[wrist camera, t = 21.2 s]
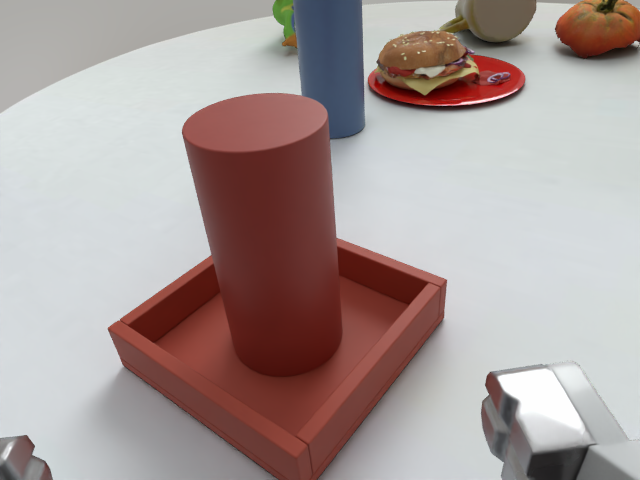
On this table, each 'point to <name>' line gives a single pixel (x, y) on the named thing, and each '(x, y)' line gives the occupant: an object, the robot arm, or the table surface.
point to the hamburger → (441, 72)
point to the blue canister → (332, 60)
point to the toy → (286, 20)
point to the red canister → (270, 226)
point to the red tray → (290, 391)
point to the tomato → (599, 26)
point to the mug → (492, 18)
